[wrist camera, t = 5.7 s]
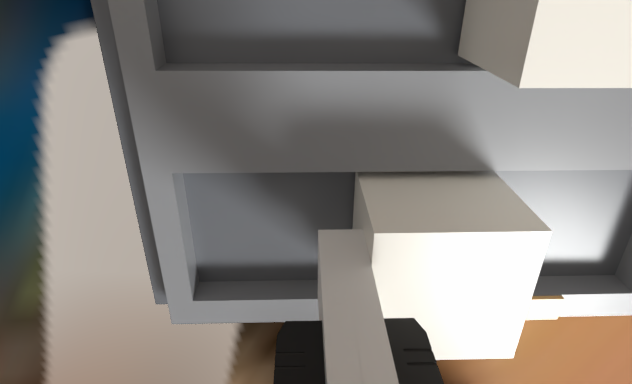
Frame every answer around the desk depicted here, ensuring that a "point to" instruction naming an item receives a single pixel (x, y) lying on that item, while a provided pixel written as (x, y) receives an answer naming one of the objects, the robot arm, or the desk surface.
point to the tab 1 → (452, 256)
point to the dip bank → (343, 146)
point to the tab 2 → (550, 42)
